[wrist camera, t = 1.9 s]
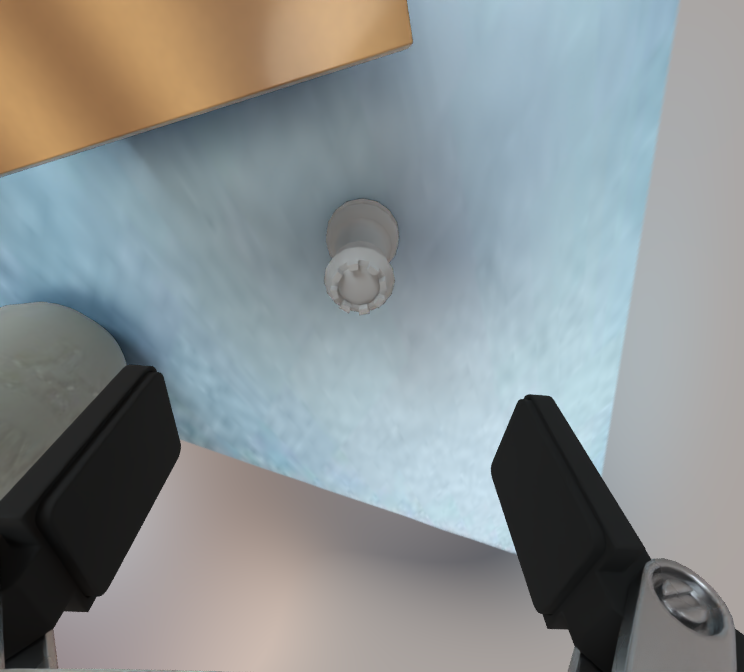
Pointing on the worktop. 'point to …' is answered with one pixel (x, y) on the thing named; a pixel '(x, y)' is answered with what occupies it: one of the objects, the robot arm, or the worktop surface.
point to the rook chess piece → (361, 255)
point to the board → (165, 62)
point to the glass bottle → (47, 379)
